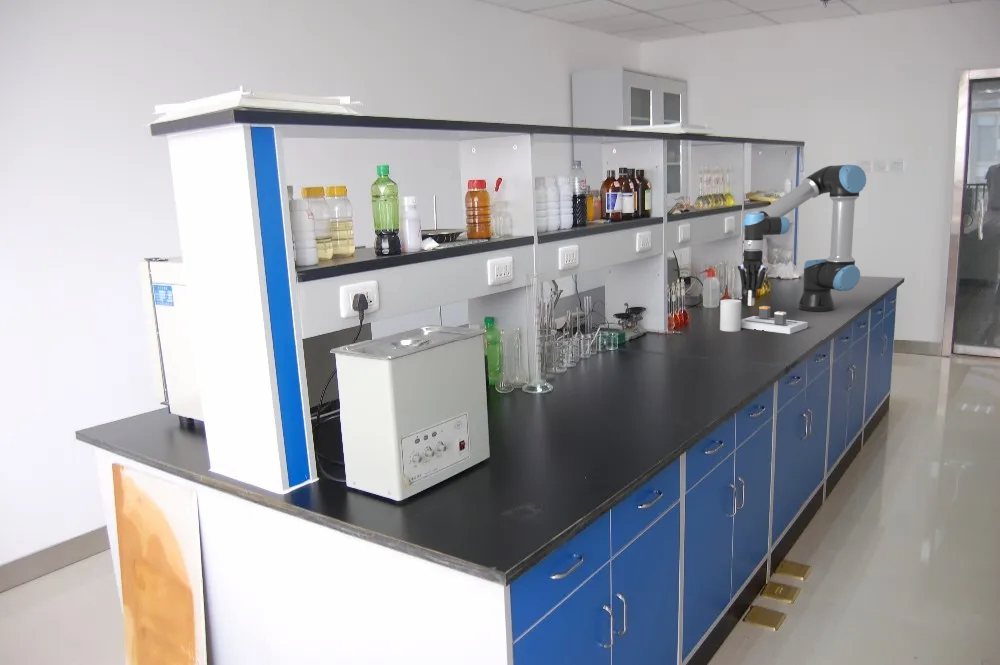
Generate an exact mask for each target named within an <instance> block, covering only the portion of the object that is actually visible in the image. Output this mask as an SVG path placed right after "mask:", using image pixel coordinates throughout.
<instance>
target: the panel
mask: <svg viewBox="0 0 1000 665" xmlns="http://www.w3.org/2000/svg"><path fill="white" fill-rule="evenodd" d="M808 324H809V322H808V321H800V320H792V319H786V324H784V325H780V324H774V317H770V318H768V319H764V318H759V315H758V316H757V315H752V316H749V317H746V318H741V329H748V330H754V329H756V331H757V330H758V331H762V330H764V331H765V332H771V333H777V334H778V333H779V334H787V335H790V334H794V333H797V332H799V331H803V330H805V329H808Z"/></svg>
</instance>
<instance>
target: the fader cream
mask: <svg viewBox="0 0 1000 665" xmlns="http://www.w3.org/2000/svg"><path fill="white" fill-rule="evenodd" d="M773 318H774V324H780V325H784V324H786V320H787V311H778V310H777V311H775V312H774V315H773Z"/></svg>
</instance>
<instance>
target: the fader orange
mask: <svg viewBox="0 0 1000 665" xmlns="http://www.w3.org/2000/svg"><path fill="white" fill-rule="evenodd" d="M758 317H759V318H764V319H768V318H771V306H768V305H762V306H759V307H758Z"/></svg>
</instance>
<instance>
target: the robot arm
mask: <svg viewBox="0 0 1000 665" xmlns="http://www.w3.org/2000/svg"><path fill="white" fill-rule="evenodd" d="M866 184H867V175H866V173H865V171H864V170H863V168H862V167H861V166H858V165H856V164H843V165H842V164H841V165H828V166H825V167H822V168H820V169H818V170H817V171H815V172H813V173H812V174H810V175H808V176H807V177H805V178H803V180H802V181H801V184H799V185H797V186H796V187H794V188H793V189H792V190H790V191H789V192H787V193H786V194H784V195H783V196H781V197H779V198H778V199H776V200H775V201H773V202H772V203H771V204H769V205H768V206H766V207H765V208H763V209H762V210H760V211H759V212H748V213H747V214H745V217H744V219H743V220H742V224H741V225H742V229H743V231H744V235H743V236H744V237H743V238H744V242H743V249H744V251H743V262H742V263H741V264H740V265H738V266H737V270H738V271H739V276H740V281H741V282H740V283H741V288H742V289H745V290H746V296H745V297H746V298H747V306H750V307H751V306H752V307H753V306H754V305H755V298H757V292H758V290H761V289H762V286H763V283H764V279H765V276H766V272H767V271H768V270H769V267H767V266H765V265H764V263H763V254H764V252H763V249H764V236H773V235H774V236H776V235H785V234H787V233H788V232H789V230H790V225H791V224H790V219H788V217H786V215H788V214H789V213H790V212H792V211H793V210H795V209H797V208H798V207H799V206H801V205H803V204H804V203H805V202H807V201H808V200H810V199H812V198H813V199H815V198H817V197H818V196H820V195H824V194H828V193H829V199H830V200H832V213H831V231H830V233H831V234H830V253H829V256H828V257H827V258H822V259H821V258H820V259H810V260H805V262H804V267H803V285H802V286H803V290H802V291H803V292H802V295H801V296H800V300H799V303H798V309H799V310H801V311H806V312H830V311H834V310H835V304H834V303H835V302H834V299H833V296H832V292H831V290H835V291H838V292H848V291H851V290H852V289H854V288H855V286H856V287H857V284H858V283H859V281H860V278H861V270H860V269H859V267H858V266H856V265H855V264H856V259H855V258H853V256H852V255H853V254H852V253H853V237H854V236H853V235H854V218H855V206H856V203H855V202H856V200H857V199H858V198H859V197H860V192H861V191H863V190H864V188H865V186H866Z"/></svg>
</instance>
